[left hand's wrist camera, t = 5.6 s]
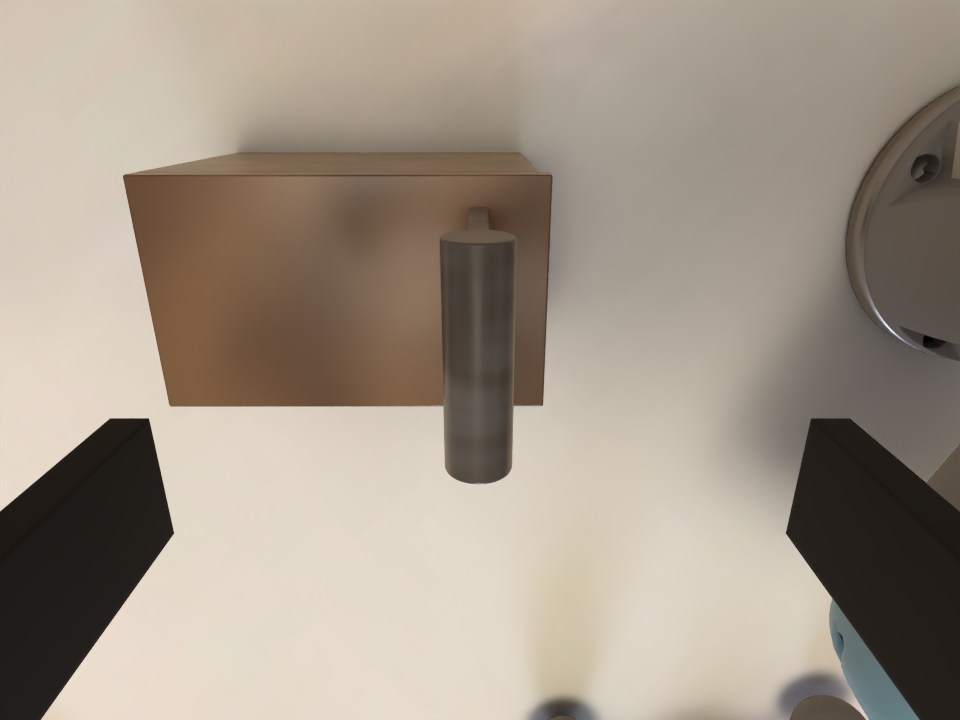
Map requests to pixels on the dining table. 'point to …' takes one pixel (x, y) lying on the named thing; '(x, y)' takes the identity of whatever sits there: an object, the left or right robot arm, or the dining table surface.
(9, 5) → the dining table surface
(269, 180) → the lid
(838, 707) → the molecular model
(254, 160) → the chest
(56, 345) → the dining table surface
